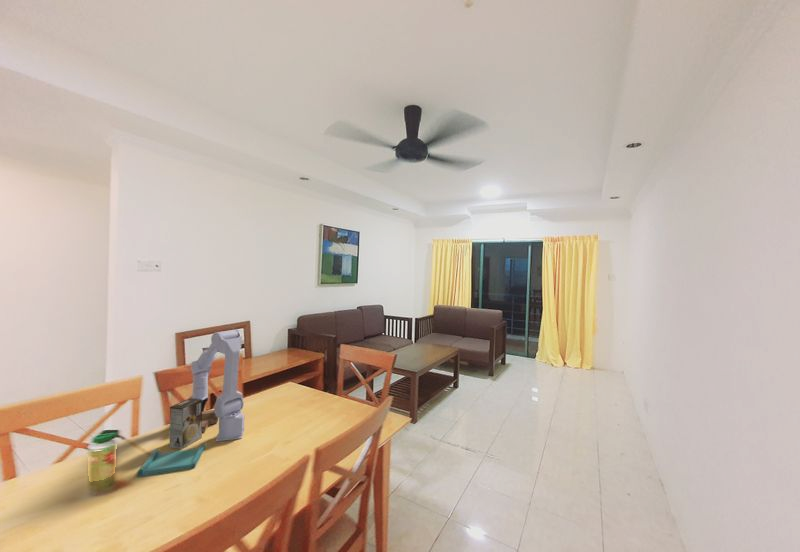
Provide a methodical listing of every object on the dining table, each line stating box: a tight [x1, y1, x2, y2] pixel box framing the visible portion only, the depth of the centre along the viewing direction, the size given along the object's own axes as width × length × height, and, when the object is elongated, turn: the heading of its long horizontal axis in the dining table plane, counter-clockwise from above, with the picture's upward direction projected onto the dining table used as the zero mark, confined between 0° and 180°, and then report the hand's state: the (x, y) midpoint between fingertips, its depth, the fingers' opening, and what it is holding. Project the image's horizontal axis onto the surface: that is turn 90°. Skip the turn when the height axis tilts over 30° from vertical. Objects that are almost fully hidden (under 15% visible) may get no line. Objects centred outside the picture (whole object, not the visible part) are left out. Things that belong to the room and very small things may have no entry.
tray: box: [137, 443, 206, 477], centre depth 111 cm, size 16×13×2 cm
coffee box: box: [169, 397, 203, 450], centre depth 123 cm, size 9×6×16 cm
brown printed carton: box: [202, 409, 219, 433], centre depth 134 cm, size 16×10×5 cm, turn 109°
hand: (199, 416), depth 140 cm, fingers closed
